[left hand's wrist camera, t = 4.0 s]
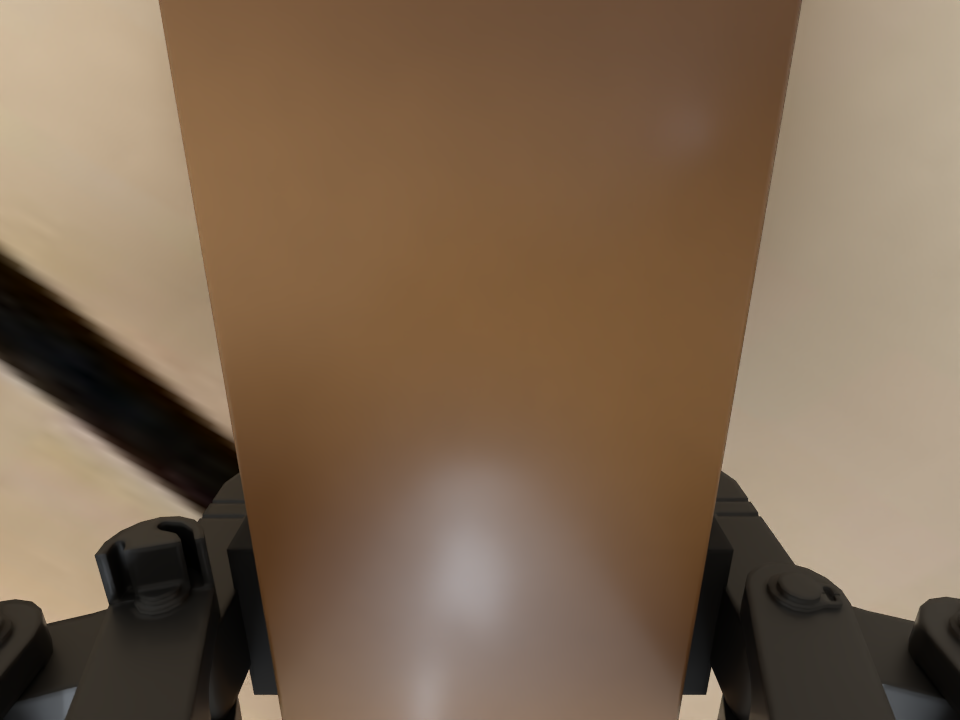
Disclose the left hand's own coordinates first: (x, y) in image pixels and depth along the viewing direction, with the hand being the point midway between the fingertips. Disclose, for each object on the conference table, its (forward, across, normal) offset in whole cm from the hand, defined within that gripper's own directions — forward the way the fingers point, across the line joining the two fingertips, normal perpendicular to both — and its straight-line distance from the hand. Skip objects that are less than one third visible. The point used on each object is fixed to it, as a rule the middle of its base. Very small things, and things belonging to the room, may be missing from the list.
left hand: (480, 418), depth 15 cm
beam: (0, 0, -22) cm, 22 cm away
